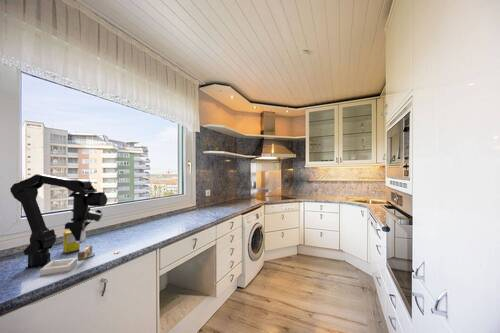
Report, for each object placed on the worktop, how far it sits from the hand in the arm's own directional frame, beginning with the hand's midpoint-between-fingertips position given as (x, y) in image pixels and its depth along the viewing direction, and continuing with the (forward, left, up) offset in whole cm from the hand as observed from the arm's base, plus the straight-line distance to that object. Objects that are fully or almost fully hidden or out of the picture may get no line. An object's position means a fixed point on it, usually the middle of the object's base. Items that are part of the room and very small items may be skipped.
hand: (79, 239), depth 100 cm
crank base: (+7, +9, -11) cm, 16 cm away
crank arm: (+1, +4, -10) cm, 11 cm away
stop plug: (0, 0, -1) cm, 1 cm away
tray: (-6, -4, -11) cm, 13 cm away
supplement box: (-10, +21, -11) cm, 26 cm away
